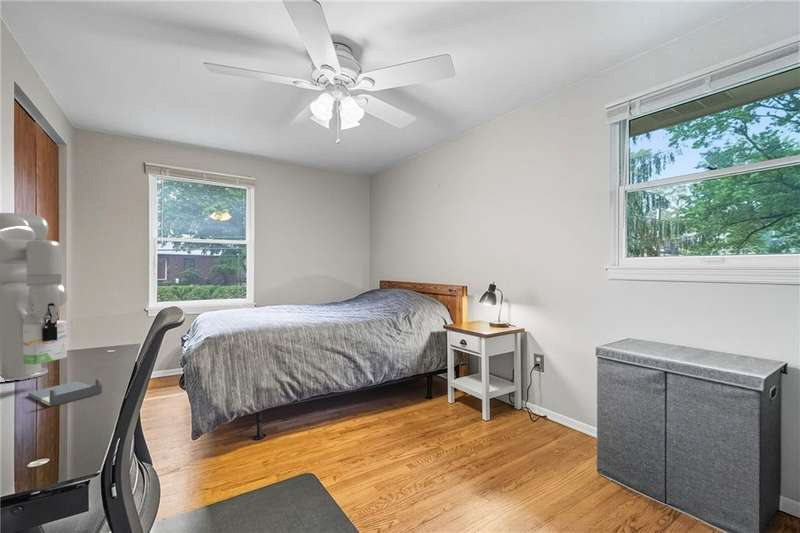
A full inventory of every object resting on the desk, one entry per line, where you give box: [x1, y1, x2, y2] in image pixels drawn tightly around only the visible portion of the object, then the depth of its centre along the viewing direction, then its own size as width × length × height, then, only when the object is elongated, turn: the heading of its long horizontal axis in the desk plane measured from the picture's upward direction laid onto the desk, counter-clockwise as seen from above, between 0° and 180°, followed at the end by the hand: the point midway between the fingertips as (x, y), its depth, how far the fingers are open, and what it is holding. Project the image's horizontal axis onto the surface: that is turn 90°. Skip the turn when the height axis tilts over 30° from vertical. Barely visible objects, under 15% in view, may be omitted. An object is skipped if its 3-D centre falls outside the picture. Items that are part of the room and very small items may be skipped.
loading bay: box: [27, 378, 103, 407], centre depth 102 cm, size 17×11×4 cm, turn 60°
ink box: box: [23, 314, 68, 364], centre depth 109 cm, size 9×5×15 cm, turn 168°
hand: (45, 338), depth 109 cm, fingers closed on ink box, 6 cm apart
